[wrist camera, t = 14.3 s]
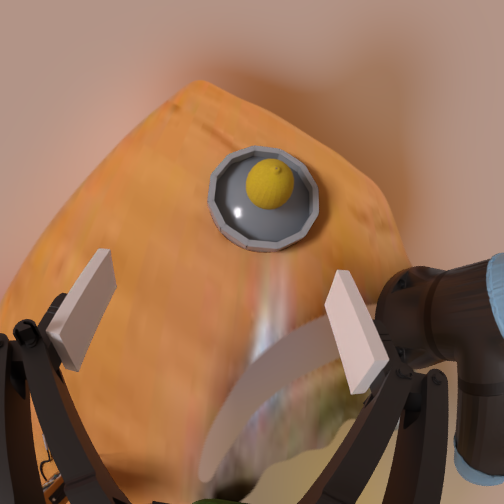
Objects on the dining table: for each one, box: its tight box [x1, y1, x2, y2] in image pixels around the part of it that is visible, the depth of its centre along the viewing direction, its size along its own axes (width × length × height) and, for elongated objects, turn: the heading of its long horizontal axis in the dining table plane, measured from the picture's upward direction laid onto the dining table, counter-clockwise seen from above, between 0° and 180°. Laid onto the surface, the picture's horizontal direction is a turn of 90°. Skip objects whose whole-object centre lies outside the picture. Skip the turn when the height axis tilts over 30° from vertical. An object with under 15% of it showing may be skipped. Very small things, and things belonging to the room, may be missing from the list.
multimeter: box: [40, 434, 68, 504], centre depth 16 cm, size 15×10×20 cm
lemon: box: [246, 159, 294, 210], centre depth 33 cm, size 6×6×8 cm
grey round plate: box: [207, 146, 319, 253], centre depth 37 cm, size 14×14×2 cm
